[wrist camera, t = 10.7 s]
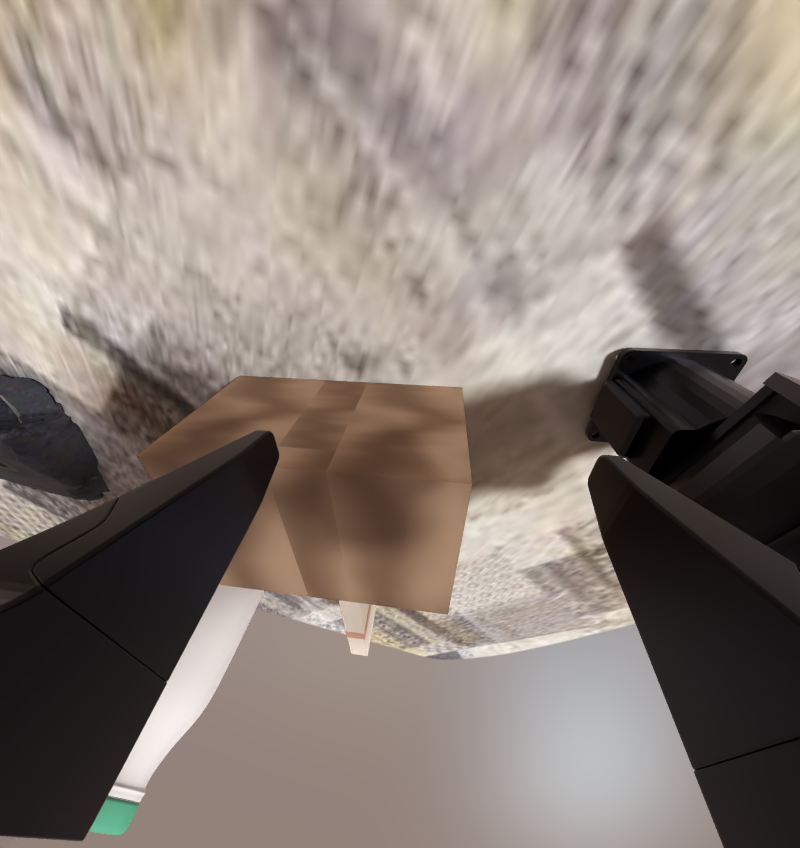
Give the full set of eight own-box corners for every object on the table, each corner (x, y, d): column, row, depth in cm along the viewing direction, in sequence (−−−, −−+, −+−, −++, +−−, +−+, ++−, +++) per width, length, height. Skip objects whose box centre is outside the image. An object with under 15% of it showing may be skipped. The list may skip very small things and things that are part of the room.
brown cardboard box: (462, 387, 20) (472, 484, 13) (446, 510, 27) (447, 618, 20) (239, 375, 22) (136, 455, 15) (279, 495, 29) (223, 589, 22)
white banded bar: (370, 515, 29) (355, 578, 24) (377, 598, 38) (367, 656, 33) (351, 513, 29) (331, 575, 24) (363, 596, 38) (350, 654, 33)
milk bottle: (206, 547, 36) (11, 817, 20) (268, 562, 37) (126, 842, 20) (214, 578, 41) (60, 821, 24) (270, 592, 41) (154, 841, 25)
